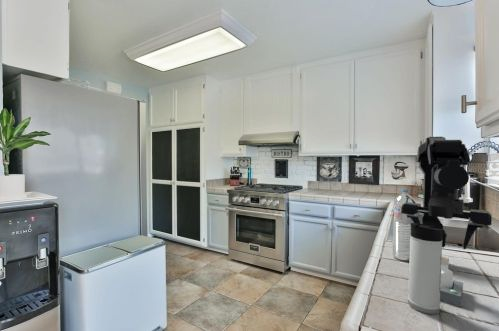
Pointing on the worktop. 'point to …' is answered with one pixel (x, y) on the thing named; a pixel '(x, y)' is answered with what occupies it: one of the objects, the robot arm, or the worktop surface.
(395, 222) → the water bottle
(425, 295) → the travel mug
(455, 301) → the socket dock
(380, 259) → the worktop surface
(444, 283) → the pepper shaker
